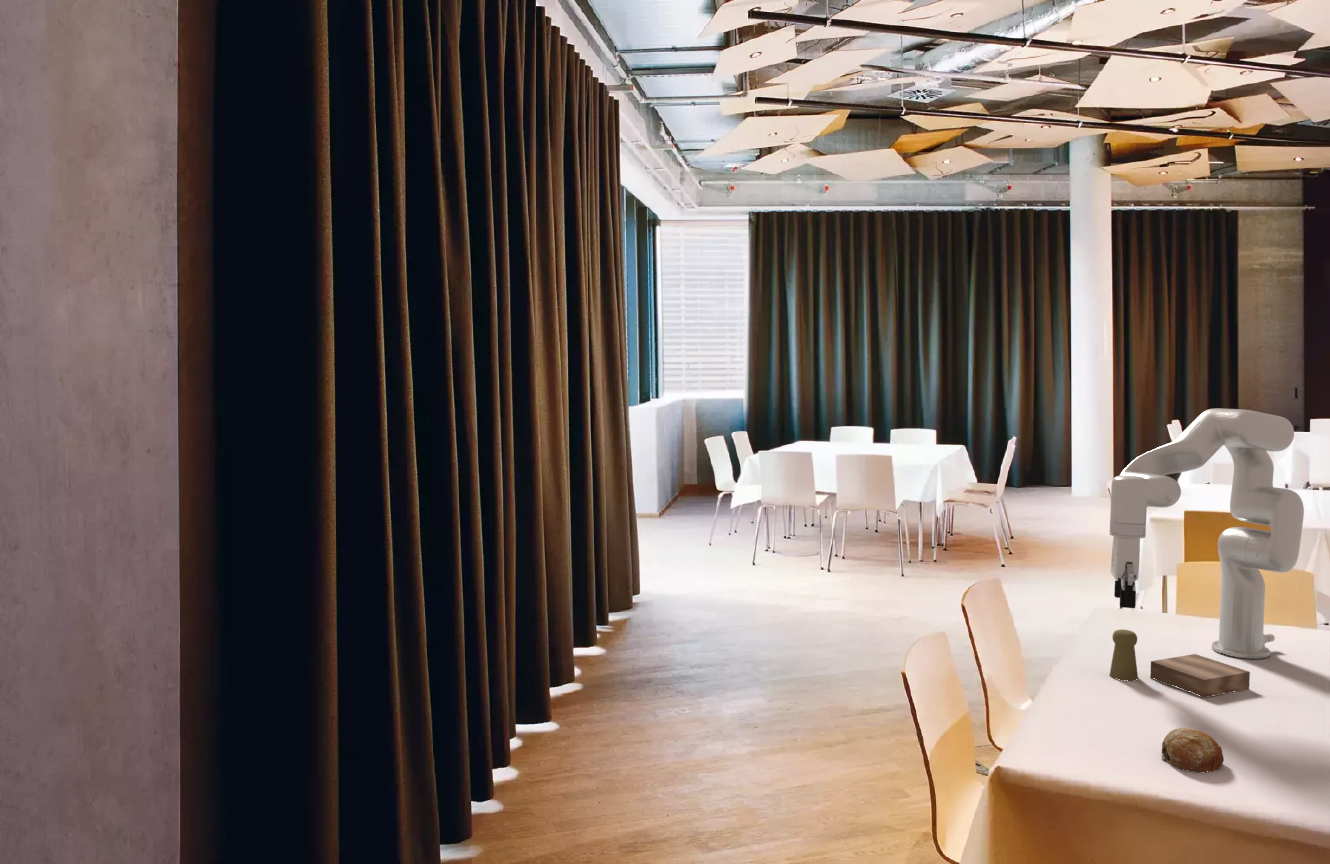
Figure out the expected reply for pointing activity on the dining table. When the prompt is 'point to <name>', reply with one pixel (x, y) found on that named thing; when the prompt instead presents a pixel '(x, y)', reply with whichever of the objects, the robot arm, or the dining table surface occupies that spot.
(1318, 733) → the dining table surface
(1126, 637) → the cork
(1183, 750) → the bread roll
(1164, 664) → the walnut plinth
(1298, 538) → the robot arm
